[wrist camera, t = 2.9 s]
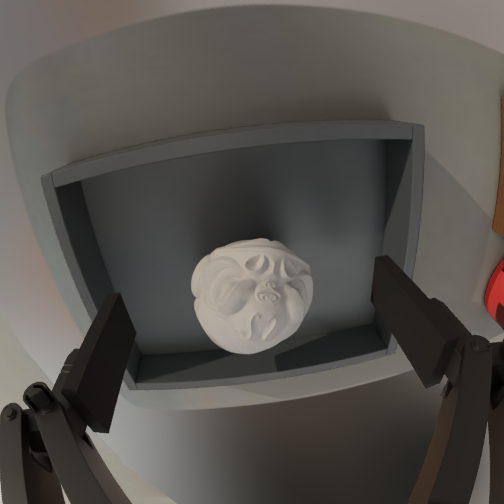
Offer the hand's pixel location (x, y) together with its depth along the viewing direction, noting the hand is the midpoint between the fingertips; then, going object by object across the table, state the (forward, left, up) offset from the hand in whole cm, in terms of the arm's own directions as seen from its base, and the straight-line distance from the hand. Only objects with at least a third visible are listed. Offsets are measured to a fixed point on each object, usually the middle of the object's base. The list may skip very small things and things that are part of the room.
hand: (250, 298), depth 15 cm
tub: (0, 0, -5) cm, 5 cm away
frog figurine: (0, 0, -4) cm, 4 cm away
